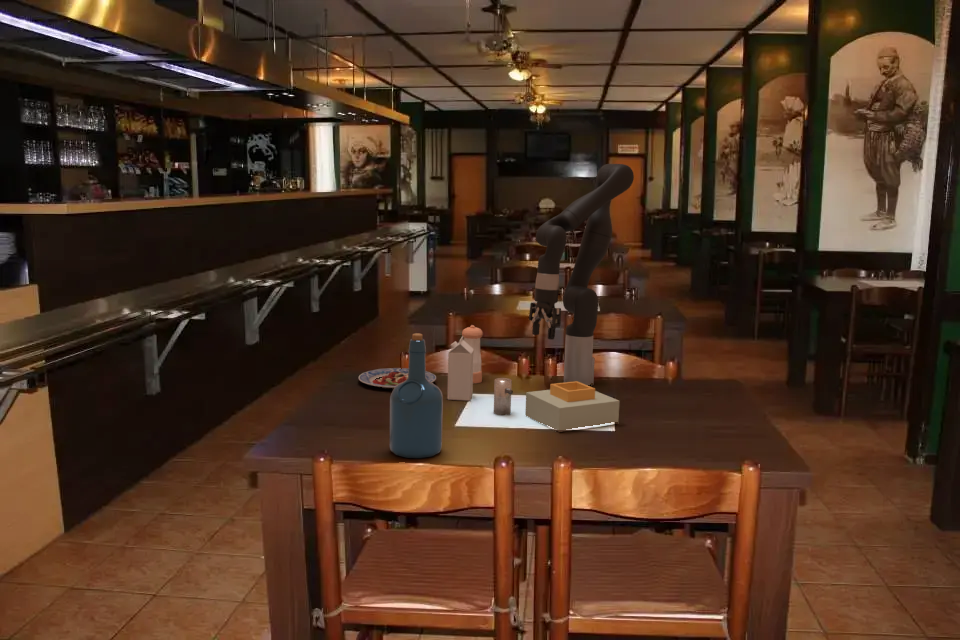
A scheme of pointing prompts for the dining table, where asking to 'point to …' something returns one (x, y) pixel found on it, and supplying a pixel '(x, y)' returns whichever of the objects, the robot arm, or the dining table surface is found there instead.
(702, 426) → the dining table surface
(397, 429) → the wine bottle
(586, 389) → the slab with orange tray
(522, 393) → the dining table surface
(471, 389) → the milk carton
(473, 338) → the pepper shaker
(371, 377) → the ceramic plate
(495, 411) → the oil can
